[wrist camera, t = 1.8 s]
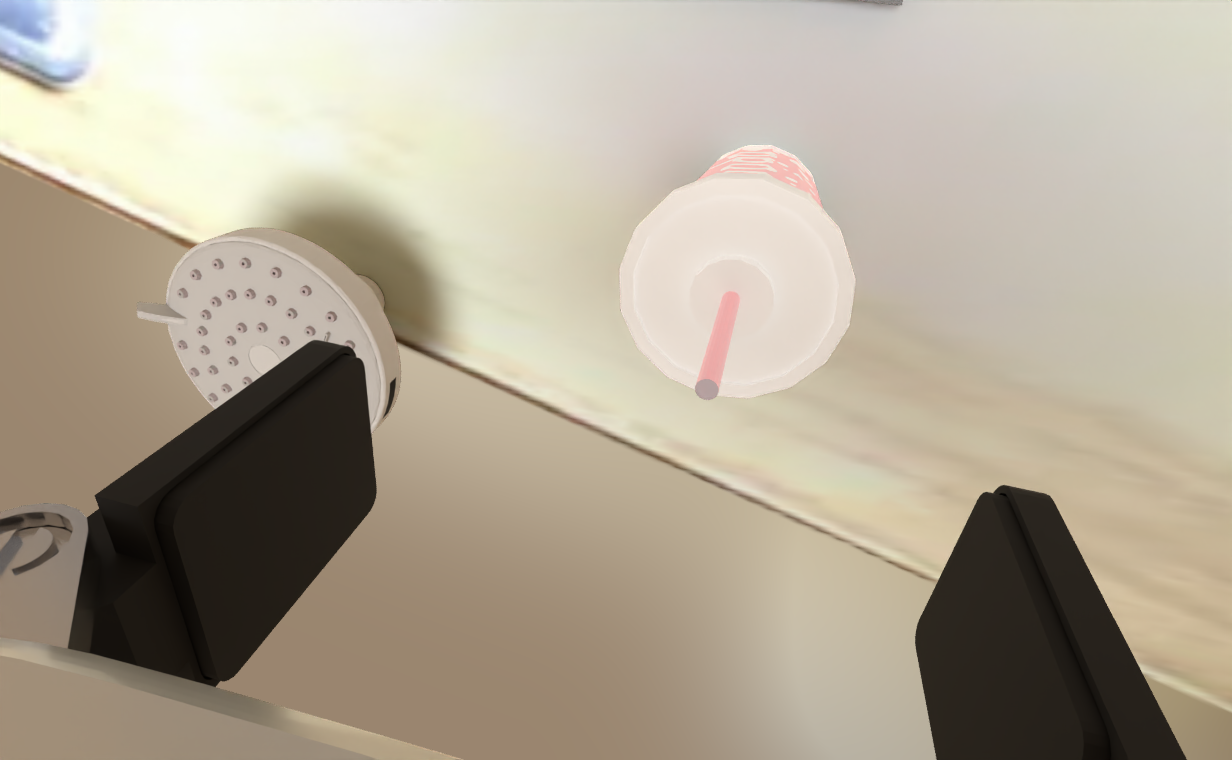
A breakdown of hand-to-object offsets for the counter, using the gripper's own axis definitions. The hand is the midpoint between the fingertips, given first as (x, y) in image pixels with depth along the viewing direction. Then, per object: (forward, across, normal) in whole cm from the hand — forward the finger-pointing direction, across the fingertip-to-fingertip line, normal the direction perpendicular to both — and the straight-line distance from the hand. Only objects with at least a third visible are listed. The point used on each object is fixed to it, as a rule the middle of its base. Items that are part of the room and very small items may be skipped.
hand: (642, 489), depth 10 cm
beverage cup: (+18, -1, 0) cm, 18 cm away
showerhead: (+18, +16, +7) cm, 25 cm away
